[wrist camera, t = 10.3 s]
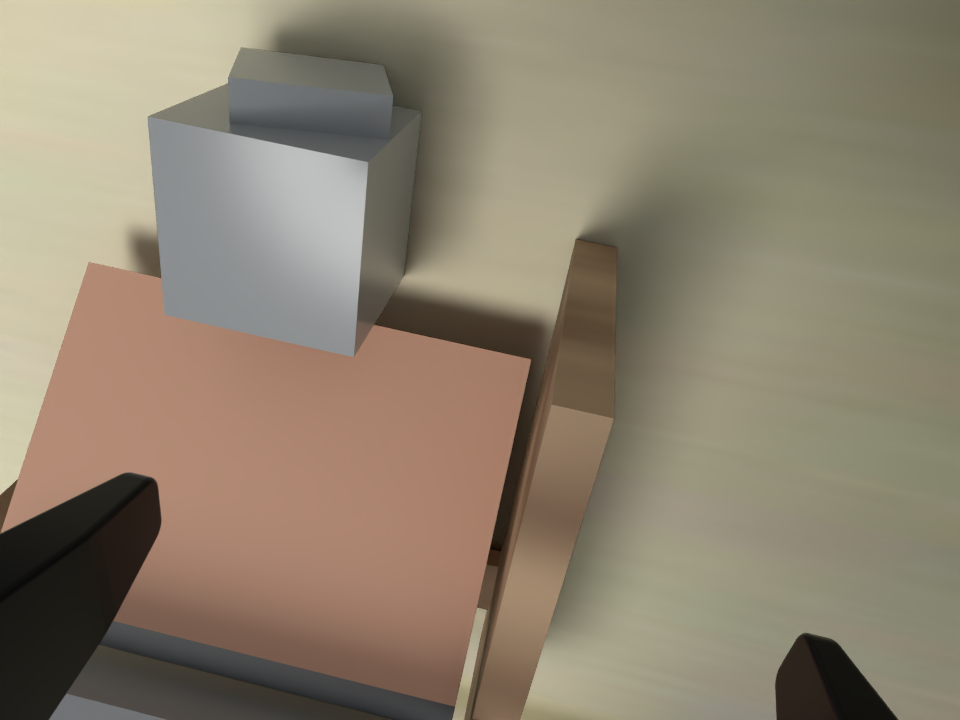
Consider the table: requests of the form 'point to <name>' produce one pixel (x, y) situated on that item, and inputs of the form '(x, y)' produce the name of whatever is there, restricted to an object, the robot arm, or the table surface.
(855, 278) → the table surface
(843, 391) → the table surface
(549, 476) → the frame
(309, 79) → the slate block
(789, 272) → the table surface
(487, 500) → the trapdoor
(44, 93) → the table surface
